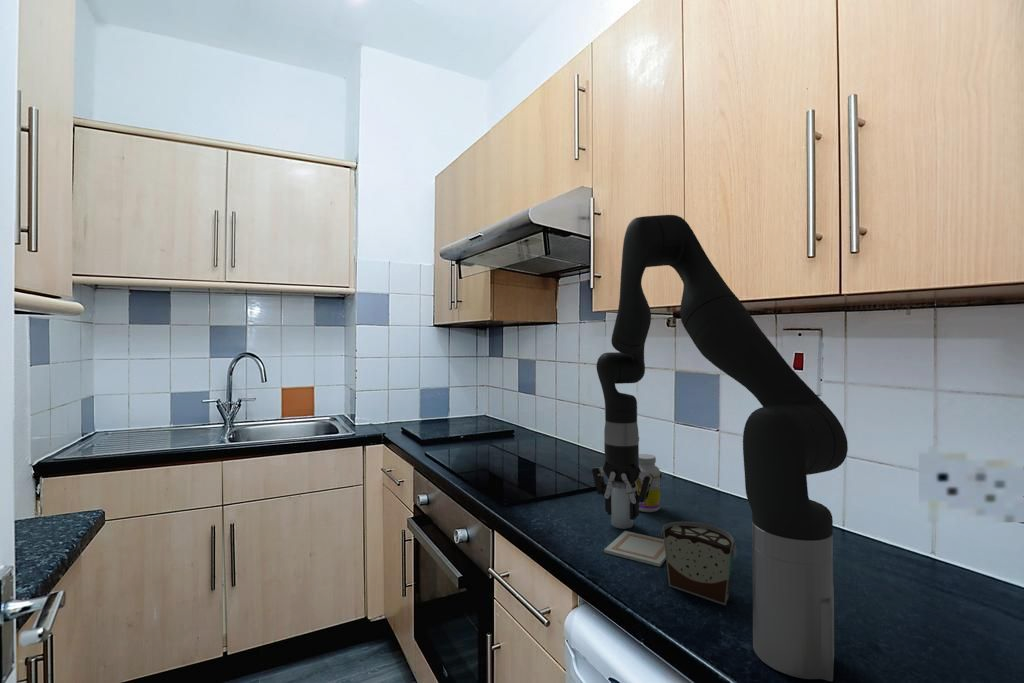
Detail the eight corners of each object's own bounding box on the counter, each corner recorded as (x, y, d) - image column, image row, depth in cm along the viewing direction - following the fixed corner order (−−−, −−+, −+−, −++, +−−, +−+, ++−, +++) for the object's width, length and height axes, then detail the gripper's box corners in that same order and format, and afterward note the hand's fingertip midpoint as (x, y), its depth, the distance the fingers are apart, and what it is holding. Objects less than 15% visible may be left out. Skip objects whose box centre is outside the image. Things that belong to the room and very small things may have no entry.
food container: (748, 593, 81) (747, 532, 81) (735, 609, 76) (735, 544, 76) (675, 570, 89) (675, 515, 89) (660, 583, 85) (660, 525, 85)
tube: (636, 523, 112) (635, 479, 112) (628, 530, 108) (627, 484, 108) (616, 518, 114) (615, 476, 114) (607, 525, 110) (607, 481, 110)
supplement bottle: (626, 505, 123) (626, 454, 123) (649, 502, 125) (648, 451, 125) (642, 514, 117) (642, 460, 117) (666, 510, 119) (665, 457, 119)
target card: (677, 545, 100) (677, 541, 100) (659, 566, 91) (659, 563, 91) (625, 533, 106) (625, 530, 106) (604, 552, 97) (604, 549, 97)
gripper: (584, 440, 112) (585, 515, 112) (646, 448, 104) (647, 528, 104) (598, 434, 118) (599, 505, 118) (658, 441, 110) (659, 517, 110)
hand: (622, 516), depth 111 cm, fingers closed on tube, 4 cm apart
